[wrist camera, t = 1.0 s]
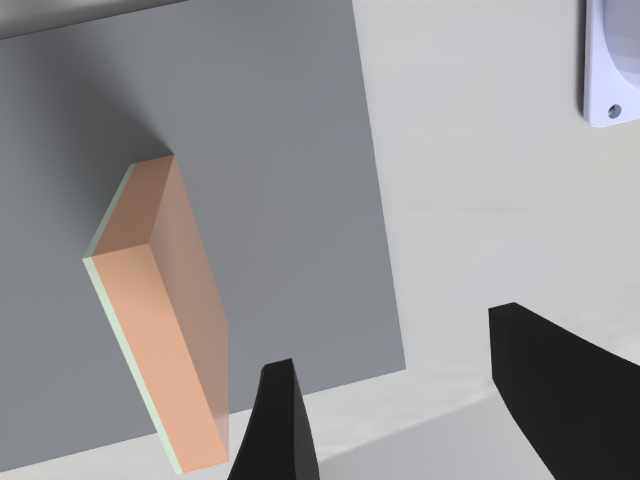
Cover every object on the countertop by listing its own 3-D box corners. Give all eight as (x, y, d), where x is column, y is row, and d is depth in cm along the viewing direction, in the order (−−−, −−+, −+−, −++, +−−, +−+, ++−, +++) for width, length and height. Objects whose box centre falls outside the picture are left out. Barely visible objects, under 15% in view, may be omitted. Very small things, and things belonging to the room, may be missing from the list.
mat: (344, -33, 17) (346, -34, 17) (403, 363, 25) (405, 369, 24) (-246, 91, 16) (-257, 93, 16) (-6, 467, 24) (-9, 474, 23)
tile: (174, 154, 19) (149, 243, 12) (227, 322, 22) (229, 461, 16) (130, 164, 19) (82, 258, 12) (190, 331, 22) (176, 475, 15)
